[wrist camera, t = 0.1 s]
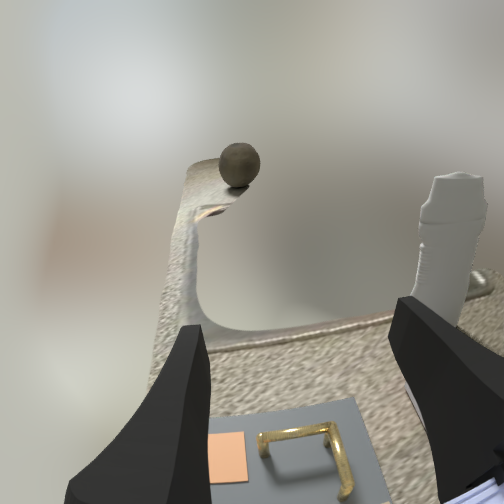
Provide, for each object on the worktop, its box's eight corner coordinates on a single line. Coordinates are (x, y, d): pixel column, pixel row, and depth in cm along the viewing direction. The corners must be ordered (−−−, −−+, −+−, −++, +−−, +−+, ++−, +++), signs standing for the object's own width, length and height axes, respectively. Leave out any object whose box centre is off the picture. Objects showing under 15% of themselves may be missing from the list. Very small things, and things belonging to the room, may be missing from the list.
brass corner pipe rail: (349, 500, 20) (357, 485, 18) (266, 515, 20) (263, 503, 18) (332, 438, 26) (336, 417, 25) (258, 450, 26) (255, 431, 24)
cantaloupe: (213, 193, 105) (208, 148, 98) (231, 181, 116) (226, 141, 110) (254, 193, 100) (250, 146, 93) (268, 181, 112) (264, 139, 105)
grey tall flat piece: (404, 351, 36) (435, 177, 26) (391, 331, 40) (413, 167, 30) (465, 332, 37) (502, 177, 27) (450, 315, 41) (479, 167, 31)
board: (407, 567, 13) (413, 565, 12) (182, 600, 12) (177, 600, 12) (352, 403, 31) (354, 395, 30) (184, 425, 30) (181, 418, 30)
